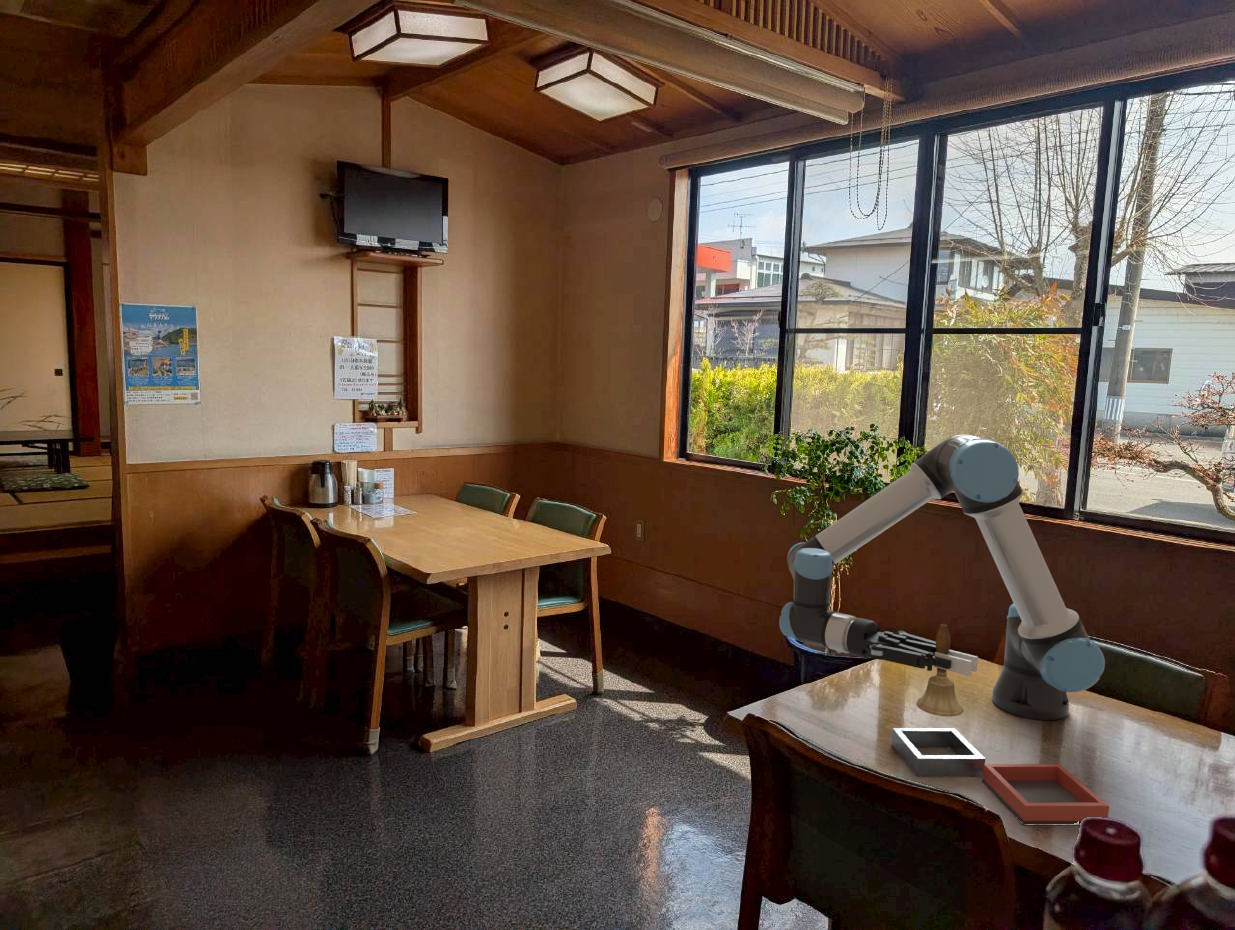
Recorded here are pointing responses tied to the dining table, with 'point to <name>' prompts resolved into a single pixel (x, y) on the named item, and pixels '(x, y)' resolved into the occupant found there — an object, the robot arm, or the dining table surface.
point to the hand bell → (941, 684)
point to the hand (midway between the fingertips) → (973, 666)
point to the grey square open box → (957, 765)
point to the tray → (1043, 793)
